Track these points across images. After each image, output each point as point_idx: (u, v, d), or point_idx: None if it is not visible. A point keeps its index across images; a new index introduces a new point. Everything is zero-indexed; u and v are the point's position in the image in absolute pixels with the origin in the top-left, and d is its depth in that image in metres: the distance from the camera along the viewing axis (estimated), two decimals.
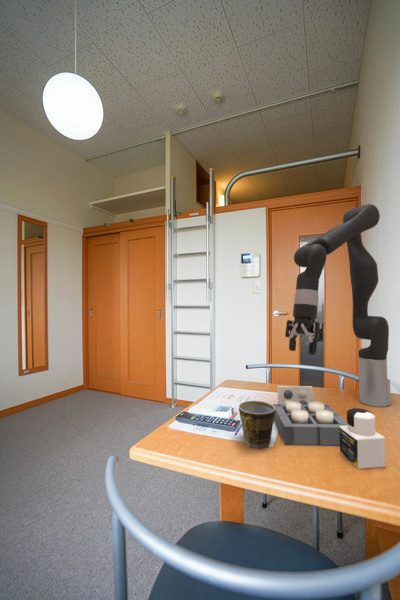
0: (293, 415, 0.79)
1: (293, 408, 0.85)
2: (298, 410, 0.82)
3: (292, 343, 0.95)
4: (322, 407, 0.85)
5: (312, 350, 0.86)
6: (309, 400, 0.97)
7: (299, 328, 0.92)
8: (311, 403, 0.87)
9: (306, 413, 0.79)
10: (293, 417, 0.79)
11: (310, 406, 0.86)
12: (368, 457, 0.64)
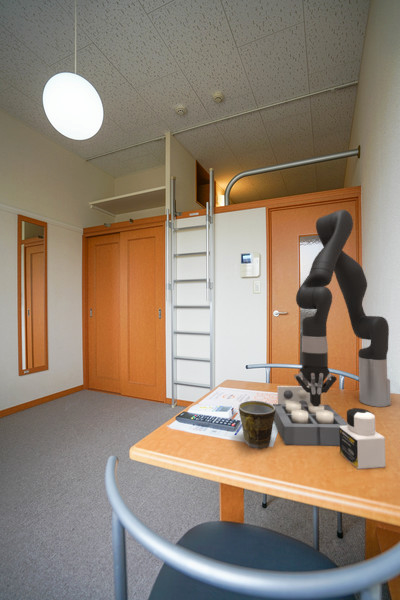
0: (293, 415, 0.79)
1: (293, 408, 0.85)
2: (298, 410, 0.82)
3: None
4: (322, 409, 0.85)
5: (319, 401, 0.86)
6: (309, 400, 0.97)
7: (315, 375, 0.86)
8: (311, 404, 0.87)
9: (306, 413, 0.79)
10: (293, 417, 0.79)
11: (310, 408, 0.86)
12: (368, 457, 0.64)
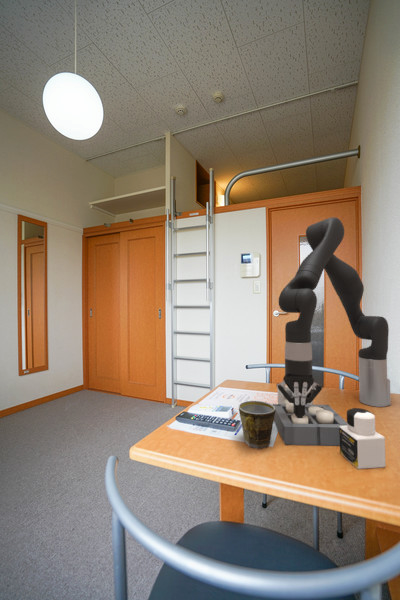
0: (293, 420, 0.79)
1: (293, 408, 0.85)
2: None
3: None
4: None
5: (303, 413, 0.79)
6: None
7: (299, 384, 0.79)
8: (311, 408, 0.87)
9: (306, 418, 0.79)
10: (293, 422, 0.79)
11: (310, 411, 0.86)
12: (368, 457, 0.64)
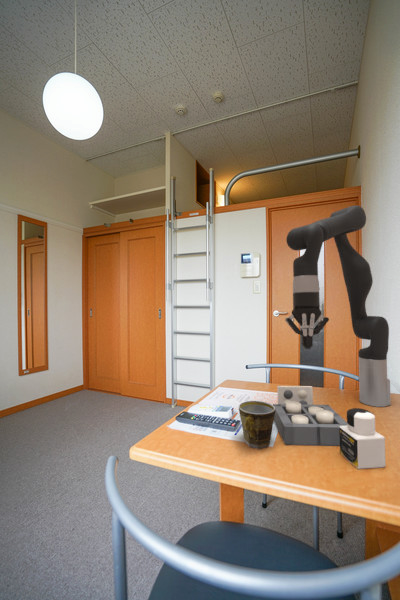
0: (293, 421, 0.79)
1: (293, 408, 0.85)
2: (298, 415, 0.81)
3: None
4: None
5: (311, 344, 0.83)
6: (309, 400, 0.97)
7: (307, 316, 0.83)
8: (311, 408, 0.87)
9: (306, 419, 0.79)
10: (293, 423, 0.79)
11: (310, 411, 0.86)
12: (368, 457, 0.64)
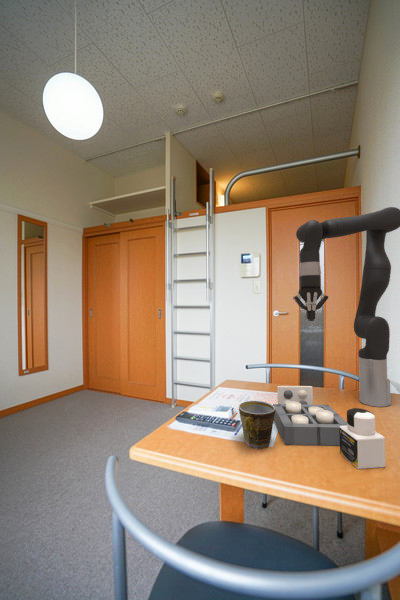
0: (293, 421, 0.79)
1: (293, 408, 0.85)
2: (298, 415, 0.81)
3: None
4: None
5: (314, 317, 1.03)
6: (309, 400, 0.97)
7: (311, 295, 1.03)
8: (311, 408, 0.87)
9: (306, 419, 0.79)
10: (293, 423, 0.79)
11: (310, 411, 0.86)
12: (368, 457, 0.64)
